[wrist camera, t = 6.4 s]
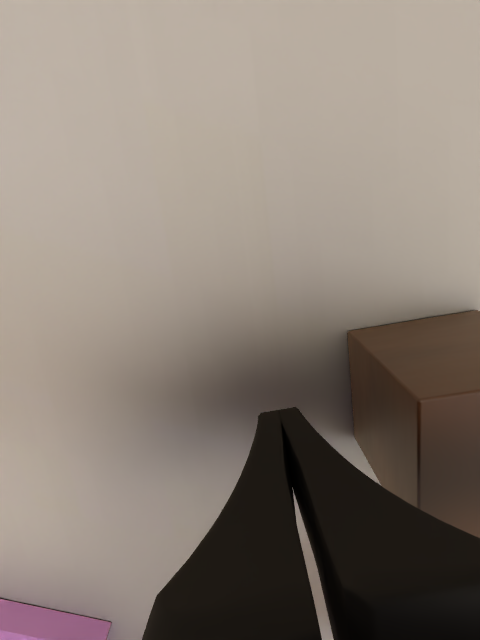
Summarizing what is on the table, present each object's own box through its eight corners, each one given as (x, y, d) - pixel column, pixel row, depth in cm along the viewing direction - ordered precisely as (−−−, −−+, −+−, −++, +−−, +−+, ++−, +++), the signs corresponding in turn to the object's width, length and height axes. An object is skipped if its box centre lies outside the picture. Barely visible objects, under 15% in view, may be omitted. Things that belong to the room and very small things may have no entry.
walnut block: (470, 420, 14) (598, 528, 9) (354, 437, 14) (417, 553, 9) (477, 309, 12) (635, 366, 7) (346, 330, 12) (418, 400, 7)
